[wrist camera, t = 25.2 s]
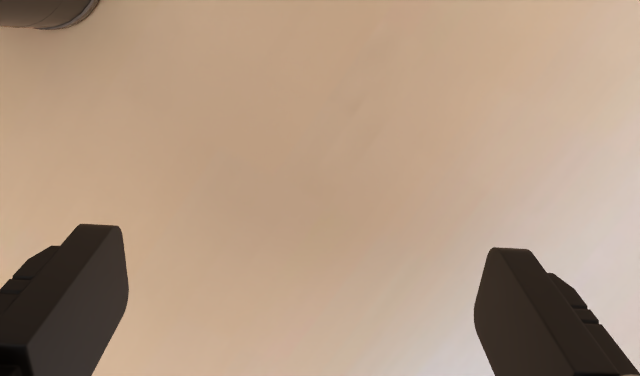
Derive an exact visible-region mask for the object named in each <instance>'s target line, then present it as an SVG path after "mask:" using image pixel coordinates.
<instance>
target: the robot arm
mask: <svg viewBox="0 0 640 376" xmlns="http://www.w3.org/2000/svg"><path fill="white" fill-rule="evenodd" d="M98 1H99V0H0V27H17V28H35V29H46V30H55V29H63V28H67V27H70V26H73V25H75V24H77V23H78V22H80V21H82V20H83V19H84V18H86V17H87V16H88V15H89V14H90V13H91V12H92V10H93V9H94V8H95V6H96V5H97V3H98ZM128 292H129V286H128V277H127V269H126V261H125V252H124V244H123V236H122V232H121V229H120V228H119V227H118V226H112V225H94V224H80V225H78V226H77V227H76V228H75V229H74V231H73V232H72V233H71V234H70V235H69V236H68V238H67V239H66V240H65V241H64V242H63V243H62V244H61V246H50V247H49V248H47V249H45V250H43V251H42V252H40V253H38V254H36V255H35V256H33V257H31V258H30V259H28V260H27V261H26V262H25V263H24V264H23V265H22V266H21V268H20V269H19V270H18V271H17V272H16V273H15V274H14V275H13V278H12V279H9V280H8V281H7V283H6V284H5V285H4V286H3V287H2V288H1V289H0V376H91V375H92V373H93V371H94V370H95V368H96V366H97V364H98V362H99V360H100V358H101V356H102V354H103V353H104V351H105V349H106V347H107V345H108V343H109V341H110V339H111V337H112V335H113V334H114V332H115V330H116V328H117V326H118V324H119V322H120V320H121V318H122V317H123V314H124V312H125V309H126V306H127V301H128ZM474 323H475V329H476V332H477V335H478V337H479V339H480V342H481V344H482V346H483V349H484V351H485V353H486V356H487V358H488V360H489V363H490V365H491V367H492V370H493V372H494V374H495V376H640V373H639V372H638V371H637V369H636V368H635V367H634V366H633V364H632V363H631V362H630V360H629V359H628V358H627V357H626V355H625V354H624V353H623V351H622V350H621V349H620V348H619V346H618V345H617V344H616V342H615V341H614V340H613V338H612V337H611V336H610V335H609V333H608V332H607V331H606V329H605V328H604V327H603V326H602V325H601V324H599V320H598V319H597V318H596V317H595V315H594V314H593V313H592V311H591V310H588V309H587V305H586V304H585V302H584V301H583V300H582V298H581V297H580V296H579V295H578V293H577V292H576V291H575V289H574V288H572V287H571V286H570V285H568V284H567V283H565V282H564V281H563V280H561V279H560V278H559V277H557V276H556V275H555V274H553V273H546V271H545V270H544V268H543V267H542V266H541V264H540V263H539V262H538V260H537V259H536V257H535V256H534V255H533V253H532V252H531V251H530V250H528V249H514V248H496V247H495V248H492V249H491V250H490V251H489V253H488V255H487V259H486V263H485V267H484V270H483V274H482V278H481V282H480V286H479V290H478V294H477V297H476V301H475V306H474Z"/></svg>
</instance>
